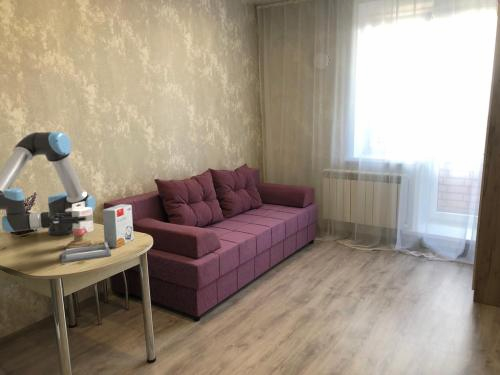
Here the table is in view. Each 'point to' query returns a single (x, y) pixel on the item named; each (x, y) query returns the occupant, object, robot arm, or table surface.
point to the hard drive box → (118, 225)
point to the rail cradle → (86, 253)
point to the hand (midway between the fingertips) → (92, 215)
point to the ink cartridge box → (85, 225)
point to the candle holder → (77, 239)
